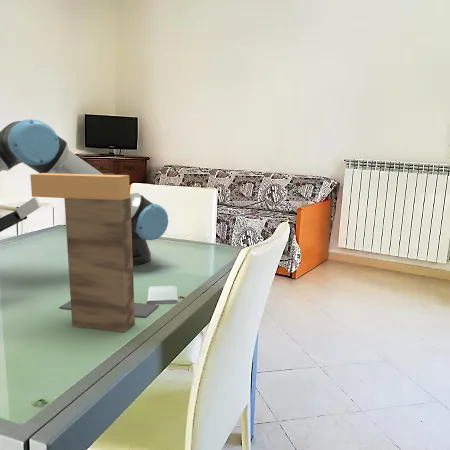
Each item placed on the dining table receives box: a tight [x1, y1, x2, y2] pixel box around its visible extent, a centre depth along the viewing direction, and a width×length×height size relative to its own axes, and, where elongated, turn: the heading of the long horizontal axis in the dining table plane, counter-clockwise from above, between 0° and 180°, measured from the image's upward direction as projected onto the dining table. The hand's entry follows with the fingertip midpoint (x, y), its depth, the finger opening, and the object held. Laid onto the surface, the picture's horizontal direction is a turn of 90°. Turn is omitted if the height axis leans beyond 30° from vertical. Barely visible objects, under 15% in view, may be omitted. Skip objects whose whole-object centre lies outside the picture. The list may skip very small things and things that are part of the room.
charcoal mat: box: [58, 300, 160, 319], centre depth 120 cm, size 8×24×1 cm, turn 75°
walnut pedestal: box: [63, 198, 136, 333], centre depth 106 cm, size 5×14×30 cm, turn 75°
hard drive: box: [146, 285, 179, 305], centre depth 129 cm, size 2×8×12 cm
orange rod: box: [30, 173, 131, 200], centre depth 104 cm, size 4×22×5 cm, turn 75°
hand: (19, 205), depth 109 cm, fingers open, 13 cm apart
